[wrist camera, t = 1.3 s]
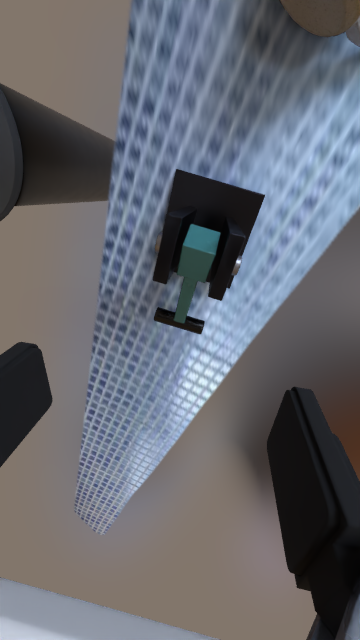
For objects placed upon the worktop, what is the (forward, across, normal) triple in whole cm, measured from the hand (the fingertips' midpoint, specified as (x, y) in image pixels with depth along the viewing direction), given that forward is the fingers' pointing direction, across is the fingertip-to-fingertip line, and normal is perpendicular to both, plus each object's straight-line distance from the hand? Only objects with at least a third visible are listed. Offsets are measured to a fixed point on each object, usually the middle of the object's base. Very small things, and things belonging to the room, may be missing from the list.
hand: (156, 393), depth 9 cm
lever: (+14, 0, 0) cm, 14 cm away
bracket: (+22, 0, -3) cm, 22 cm away
